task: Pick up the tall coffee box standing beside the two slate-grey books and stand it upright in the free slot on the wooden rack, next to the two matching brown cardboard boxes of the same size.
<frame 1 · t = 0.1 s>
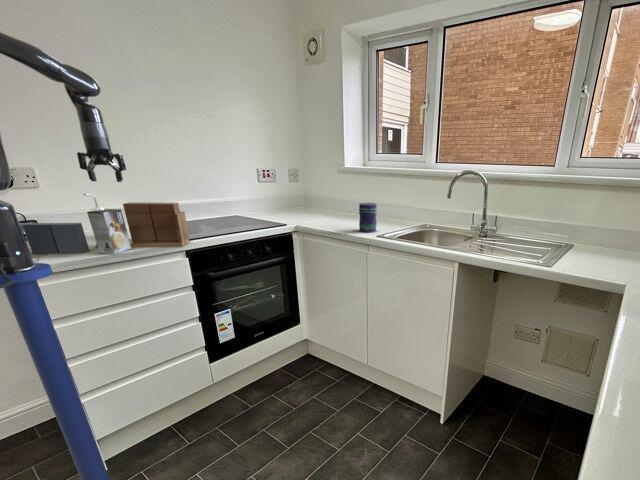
hand: (107, 181, 137), 26 cm above the countertop, tool pointing down, fingers open, 8 cm apart
coffee box: (116, 251, 140), on the countertop
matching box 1: (147, 240, 152), resting on wooden rack
grey book one: (74, 251, 137), on the countertop
wooden rack: (145, 244, 153), on the countertop
grey book two: (48, 252, 135), on the countertop
cup with straw: (105, 237, 163), on the countertop
storage jar: (367, 231, 199), on the countertop
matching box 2: (171, 240, 154), resting on wooden rack
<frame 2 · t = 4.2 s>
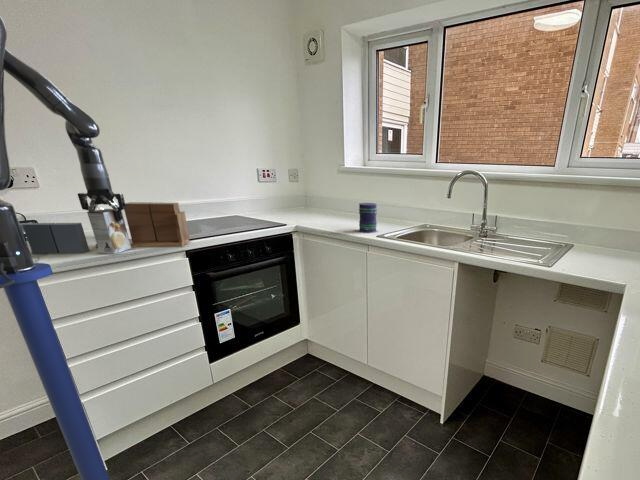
hand: (107, 220, 136), 12 cm above the countertop, tool pointing down, fingers closed on coffee box, 7 cm apart
coffee box: (116, 251, 140), on the countertop, touching gripper
everything else where it was.
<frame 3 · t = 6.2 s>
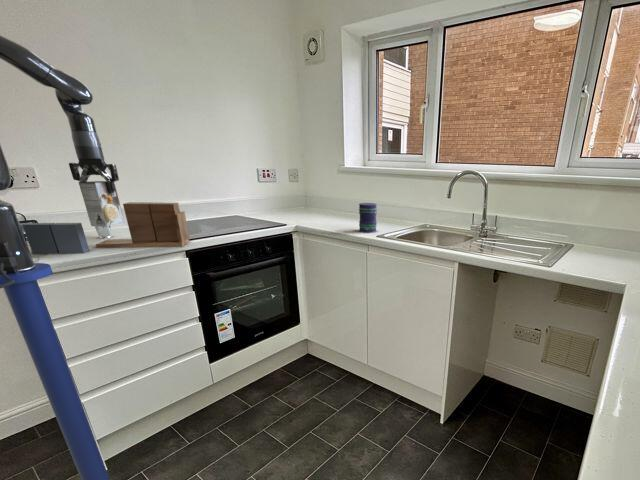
hand: (100, 192, 132), 23 cm above the countertop, tool pointing down, fingers closed on coffee box, 7 cm apart
coffee box: (108, 225, 136), point 10 cm above the countertop, touching gripper
everything else where it was.
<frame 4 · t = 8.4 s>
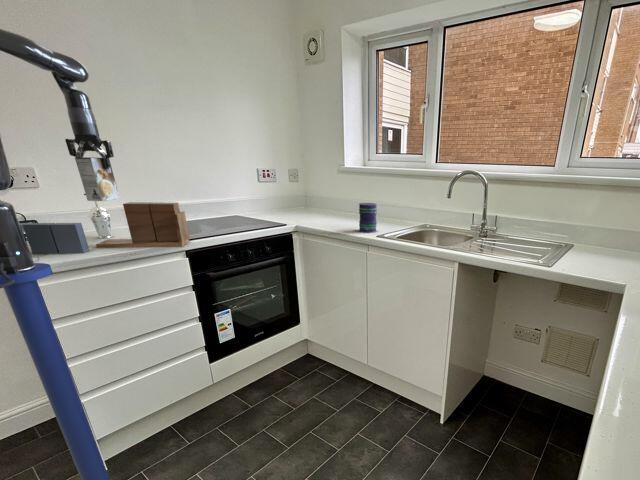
hand: (95, 168, 137), 31 cm above the countertop, tool pointing down, fingers closed on coffee box, 7 cm apart
coffee box: (104, 200, 142), point 19 cm above the countertop, touching gripper
everything else where it was.
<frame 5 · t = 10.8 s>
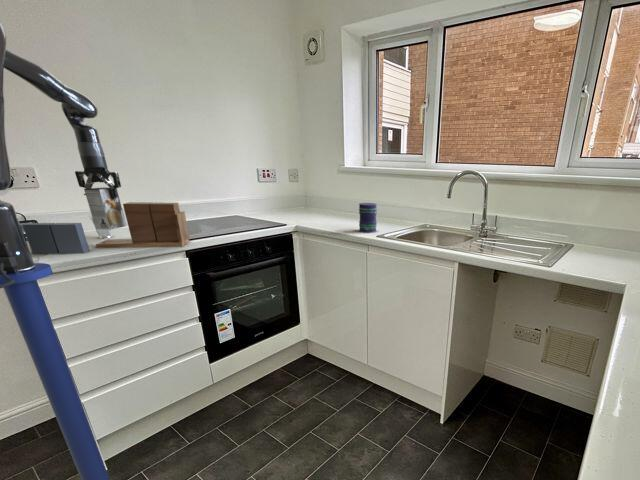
hand: (103, 198, 143), 19 cm above the countertop, tool pointing down, fingers closed on coffee box, 7 cm apart
coffee box: (111, 228, 147), point 7 cm above the countertop, touching gripper
everything else where it was.
when the fingers open (13 cm above the countertop, at t = 12.8 s): coffee box stays where it is, resting on wooden rack.
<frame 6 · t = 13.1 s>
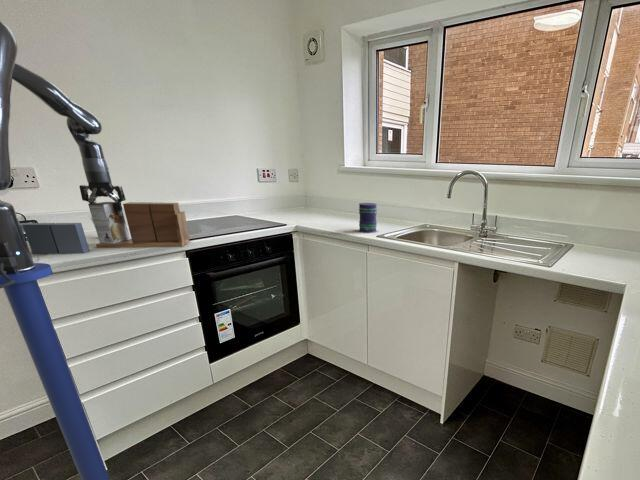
hand: (107, 211, 145), 14 cm above the countertop, tool pointing down, fingers open, 8 cm apart
coffee box: (115, 241, 149), point 1 cm above the countertop, touching wooden rack
everything else where it was.
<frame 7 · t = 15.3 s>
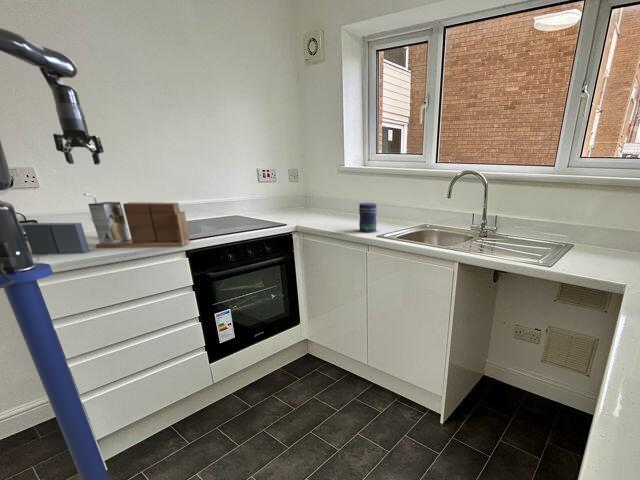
hand: (84, 164, 136), 32 cm above the countertop, tool pointing down, fingers open, 8 cm apart
nothing on the countertop moved.
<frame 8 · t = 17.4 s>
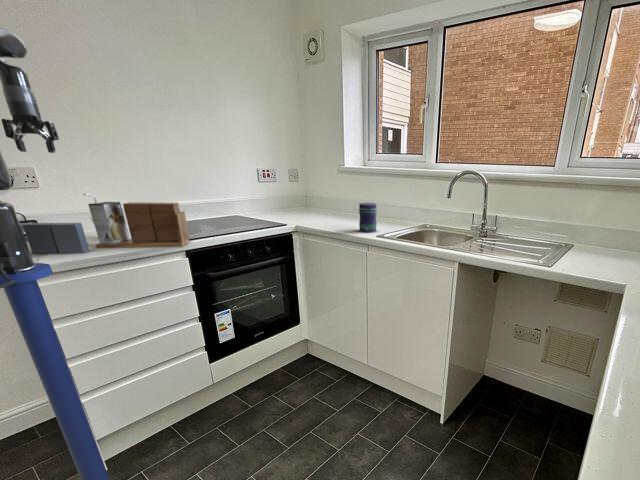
hand: (37, 152, 127), 36 cm above the countertop, tool pointing down, fingers open, 8 cm apart
nothing on the countertop moved.
at the end: coffee box inside the target area (0.2 cm from its centre), point 1.3 cm above the countertop; coffee box tilted 0°; coffee box 12.1 cm from the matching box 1 (horizontally) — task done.
